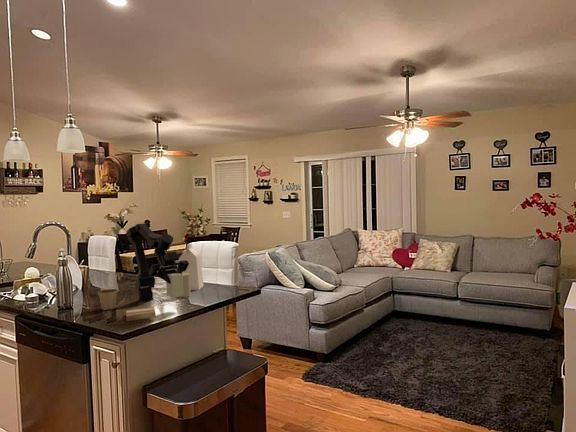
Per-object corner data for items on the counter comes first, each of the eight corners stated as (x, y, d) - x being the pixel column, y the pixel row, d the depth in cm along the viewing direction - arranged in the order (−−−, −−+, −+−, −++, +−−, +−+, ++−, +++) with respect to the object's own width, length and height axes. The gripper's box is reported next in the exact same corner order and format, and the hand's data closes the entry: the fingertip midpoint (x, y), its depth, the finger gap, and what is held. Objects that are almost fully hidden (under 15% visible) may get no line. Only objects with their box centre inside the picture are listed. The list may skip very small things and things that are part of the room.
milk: (199, 289, 250) (196, 244, 249) (179, 290, 250) (176, 245, 249) (203, 285, 262) (201, 242, 261) (184, 286, 262) (182, 243, 261)
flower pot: (121, 305, 217) (120, 288, 217) (115, 310, 208) (114, 292, 208) (102, 306, 217) (101, 289, 217) (95, 311, 208) (94, 293, 207)
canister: (166, 295, 203) (165, 274, 202) (177, 293, 206) (176, 272, 206) (172, 297, 199) (171, 275, 198) (183, 295, 202) (182, 274, 202)
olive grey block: (186, 297, 230) (185, 275, 229) (170, 297, 232) (169, 275, 231) (193, 293, 239) (192, 272, 238) (178, 293, 241) (177, 272, 240)
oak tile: (126, 315, 198) (126, 310, 198) (154, 312, 203) (153, 307, 203) (126, 322, 187) (126, 316, 187) (155, 318, 191) (155, 312, 191)
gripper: (150, 247, 198) (162, 273, 190) (186, 243, 211) (199, 268, 203) (143, 263, 204) (155, 289, 197) (178, 258, 217) (191, 282, 209)
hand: (176, 282), depth 201 cm, fingers closed on canister, 6 cm apart
